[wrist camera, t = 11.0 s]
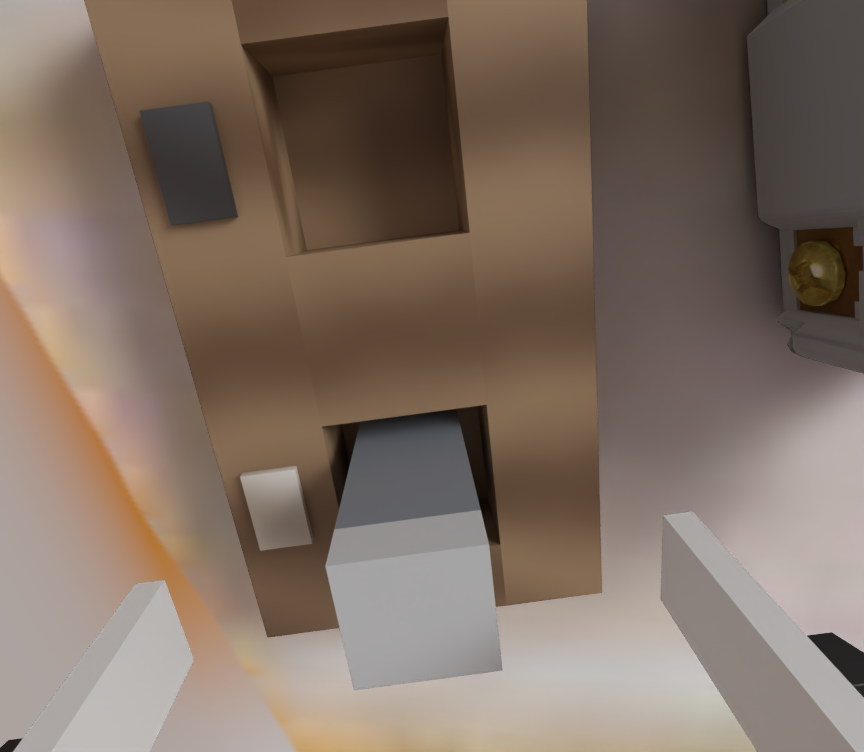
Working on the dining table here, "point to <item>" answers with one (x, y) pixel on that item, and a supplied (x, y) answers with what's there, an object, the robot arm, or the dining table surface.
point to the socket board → (375, 259)
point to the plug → (412, 557)
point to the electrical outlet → (813, 168)
